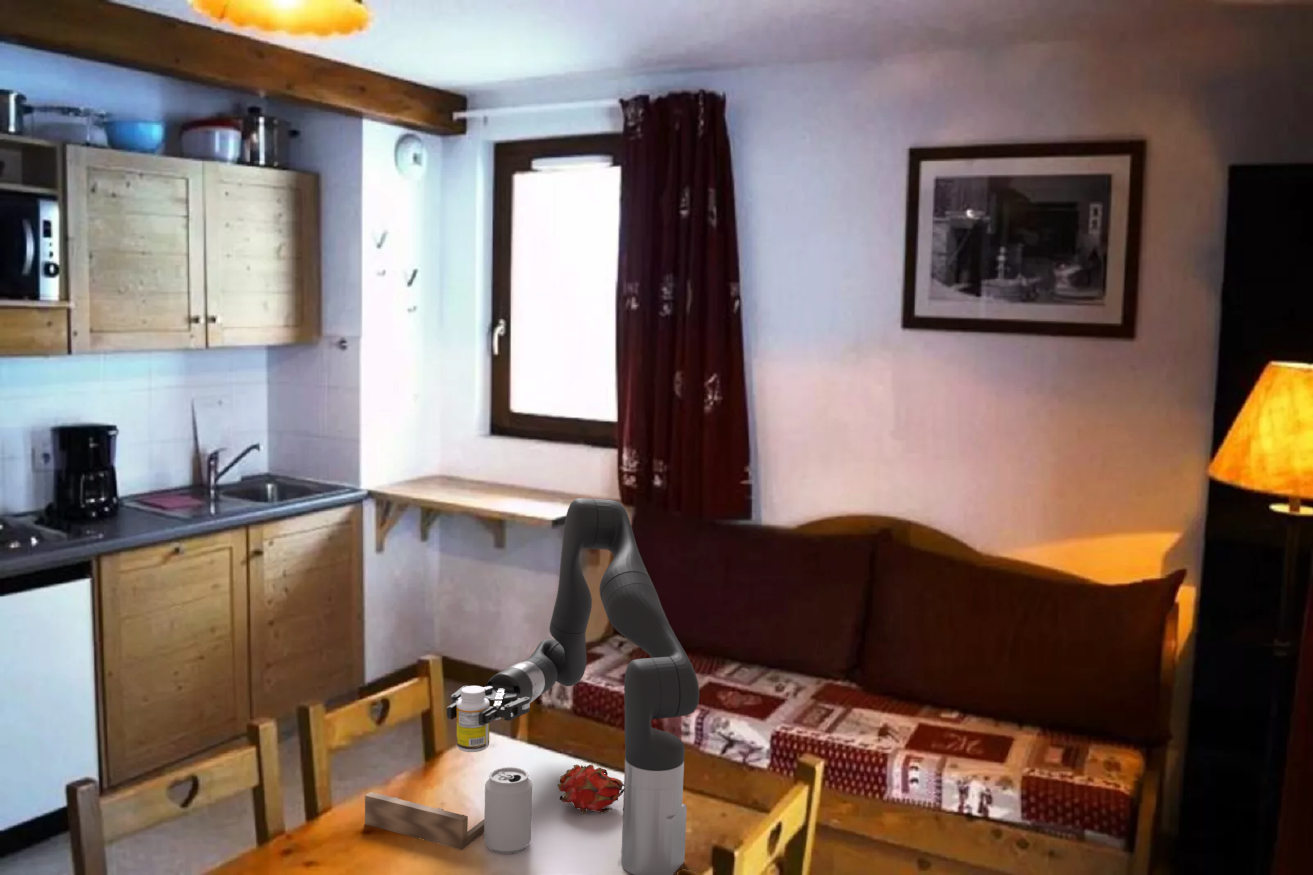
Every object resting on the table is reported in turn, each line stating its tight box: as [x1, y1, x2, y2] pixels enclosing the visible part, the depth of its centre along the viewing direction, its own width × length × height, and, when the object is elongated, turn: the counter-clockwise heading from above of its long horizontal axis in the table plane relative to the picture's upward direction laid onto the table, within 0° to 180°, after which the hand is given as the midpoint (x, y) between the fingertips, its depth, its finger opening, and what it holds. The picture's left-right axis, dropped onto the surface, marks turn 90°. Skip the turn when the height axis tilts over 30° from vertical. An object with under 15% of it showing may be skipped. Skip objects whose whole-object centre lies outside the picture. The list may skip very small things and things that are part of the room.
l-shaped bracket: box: [364, 791, 484, 851], centre depth 182 cm, size 19×8×5 cm, turn 67°
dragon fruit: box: [557, 764, 624, 815], centre depth 191 cm, size 8×8×12 cm
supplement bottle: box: [456, 685, 490, 753], centre depth 187 cm, size 6×6×10 cm
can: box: [483, 766, 533, 855], centre depth 177 cm, size 8×8×12 cm
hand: (465, 716), depth 185 cm, fingers closed on supplement bottle, 5 cm apart
